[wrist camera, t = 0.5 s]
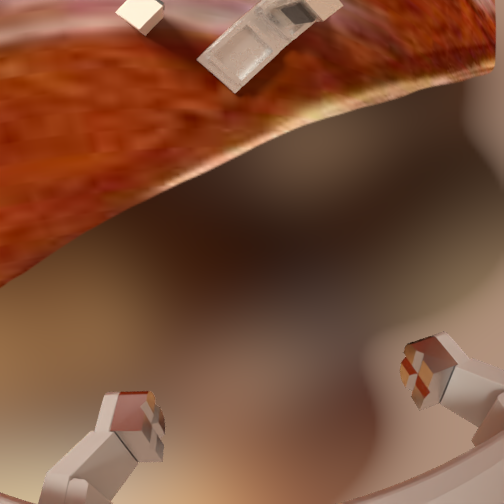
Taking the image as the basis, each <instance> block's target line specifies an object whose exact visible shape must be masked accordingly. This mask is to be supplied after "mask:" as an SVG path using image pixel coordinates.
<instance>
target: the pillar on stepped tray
mask: <svg viewBox="0 0 504 504" xmlns="http://www.w3.org/2000/svg"><path fill="white" fill-rule="evenodd" d="M342 6H344V5H343V4H342V3H341V2H340V1H339V0H261V1H260V2H259V3H257V4H256V5H255V6H254V7H252V8H251V9H250V10H249V11H248V12H246V13H245V14H244V15H243V16H242V17H241V18H239V19H238V20H237V21H236V22H235V23H234V24H233V25H231V26H230V27H229V28H228V29H227V30H226V31H225V32H224V33H223V34H222V35H220V36H219V37H218V38H217V39H216V40H215V41H214V42H213V43H212V44H211V45H210V46H209V47H208V48H207V49H206V50H205V51H204V52H203V53H202V54H201V55H200V56H199V57H198V58H197V59H196V60H197V61H198V62H199V63H200V64H201V65H203V66H204V67H205V68H206V69H207V70H208V71H210V72H211V73H212V74H213V75H214V76H215V77H217V78H218V79H219V80H220V81H221V82H222V83H223V84H224V85H226V86H227V87H228V88H229V89H230V90H231V91H232V92H233V93H236V92H237V91H238V90H239V89H240V88H241V87H242V86H244V85H245V84H246V83H247V82H248V81H249V80H250V79H251V78H252V77H254V76H255V75H256V74H257V73H258V72H259V71H260V70H261V69H262V68H263V67H264V66H265V65H266V64H267V63H269V62H270V61H271V60H272V59H273V58H274V57H275V56H276V55H277V54H278V53H279V52H280V51H281V50H282V49H283V48H285V47H286V46H287V45H288V44H289V43H290V42H291V41H293V40H294V39H296V38H297V37H298V36H299V35H300V34H302V33H303V32H304V31H305V30H306V29H308V28H309V27H310V26H311V25H312V24H314V23H315V22H321V21H324V20H326V19H327V18H328V17H329V16H331V15H332V14H333V13H335V12H336V11H337V10H338V9H340V8H341V7H342Z"/></svg>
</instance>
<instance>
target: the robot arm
mask: <svg viewBox="0 0 504 504" xmlns="http://www.w3.org/2000/svg"><path fill="white" fill-rule="evenodd" d="M404 354H405V356H406V357H405V359H404V360H403V361H402V362H401V366H400V376H401V380H402V382H403V384H404V386H405V388H407V389H409V390H411V391H412V396H411V397H412V399H413V401H414V402H415V404H416V406H417V407H418V409H419V410H423V409H425V408H428V407H431V406H433V405H436V404H438V403H440V404H441V405H442V406H444V407H446V408H447V409H449V410H451V411H452V412H454V413H456V414H457V415H459V416H461V417H462V418H464V419H466V420H467V421H469V422H471V423H472V424H474V425H476V426H477V427H479V428H478V430H477V431H476V433H475V434H474V436H473V438H472V442H473V444H474V446H475V447H474V448H472V449H471V450H469V451H467V452H465V453H463V454H461V455H460V456H458V457H456V458H454V459H452V460H450V461H448V462H446V463H444V464H442V465H440V466H438V467H436V468H433V469H431V470H429V471H427V472H425V473H423V474H420V475H418V476H416V477H413V478H411V479H408V480H406V481H404V482H401V483H398V484H396V485H393V486H390V487H388V488H385V489H382V490H379V491H377V492H374V493H370V494H368V495H364V496H362V497H358V498H355V499H351V500H348V501H344V502H341V503H337V504H504V370H503V369H500V368H498V367H495V366H492V365H490V364H487V363H485V362H482V361H479V360H476V359H474V358H473V359H469V358H468V356H467V355H466V354H465V353H464V352H463V350H462V349H461V348H460V347H459V346H458V345H457V344H456V342H455V341H454V340H453V339H452V338H451V337H450V336H449V335H448V333H446V332H441V333H438V334H435V335H432V336H429V337H426V338H423V339H420V340H417V341H414V342H411V343H408V344H407V345H406V346H405V348H404ZM164 434H165V419H164V415H163V412H162V410H161V408H160V407H159V406H157V405H156V404H155V396H154V394H153V393H152V392H151V391H140V392H139V391H137V392H107V393H106V394H105V396H104V398H103V402H102V406H101V409H100V412H99V416H98V420H97V423H96V427H95V431H90V432H89V433H88V434H87V435H86V436H85V437H84V438H83V439H82V440H81V441H80V442H78V443H77V444H76V445H75V446H74V447H73V448H72V449H71V450H70V451H69V452H68V453H67V454H66V455H65V456H64V457H62V458H61V459H60V460H59V461H58V462H57V463H56V464H55V465H54V466H53V467H52V468H51V469H50V470H49V471H47V473H46V477H45V480H44V484H43V487H42V491H41V496H40V499H39V503H38V504H113V503H112V502H111V500H112V499H113V497H114V496H115V495H116V493H117V492H118V491H119V489H120V488H121V487H122V485H123V484H124V482H125V481H126V480H127V478H128V477H129V475H130V474H131V473H132V471H133V470H134V469H135V467H136V466H137V465H138V462H162V461H163V449H164V444H163V443H162V441H161V440H160V438H162V436H163V435H164ZM0 504H34V503H31V502H27V501H24V500H21V499H18V498H15V497H12V496H9V495H6V494H3V493H0Z"/></svg>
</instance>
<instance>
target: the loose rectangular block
mask: <svg viewBox="0 0 504 504" xmlns="http://www.w3.org/2000/svg"><path fill="white" fill-rule="evenodd" d="M163 11H164V3H163V2H162V1H161V0H127V1H126V2H125V3H124V4H123V5H122V6H121V7H120V8H119V9H118V10H117V11H116V12H115V13H116V14H118V15H119V16H120V17H121V18H122V19H124V20H125V21H126V22H127V23H128V24H130V25H131V26H133V27H134V28H135V29H137V30H138V31H139V32H141V33H142V34H143V35H145V36H146V35H147V34H148V33H149V32H150V31H151V30H152V29H153V28H154V27H155V25H156V24H157V23H158V22H159V21H160V20H161V19H162V18H164V17H163Z"/></svg>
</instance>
